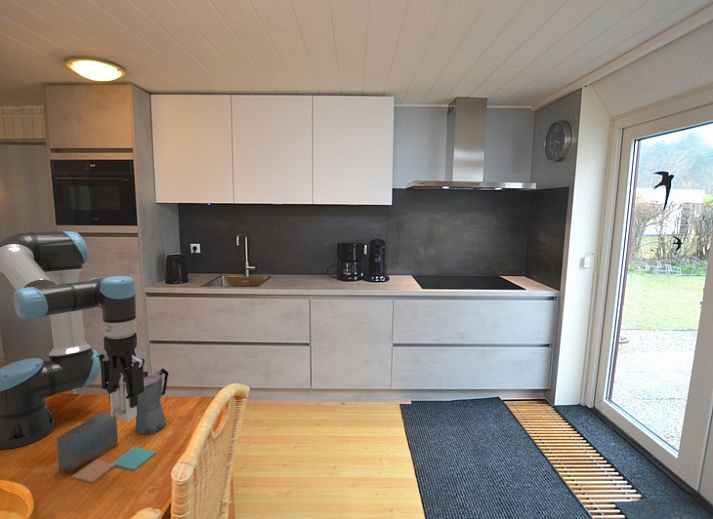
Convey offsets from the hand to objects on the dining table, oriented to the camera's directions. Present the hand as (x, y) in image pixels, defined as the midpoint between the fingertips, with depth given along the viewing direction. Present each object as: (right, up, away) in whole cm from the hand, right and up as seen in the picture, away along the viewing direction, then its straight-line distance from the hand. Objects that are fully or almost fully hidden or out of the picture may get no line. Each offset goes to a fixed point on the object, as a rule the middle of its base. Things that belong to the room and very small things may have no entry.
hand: (124, 415), depth 102 cm
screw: (0, -1, 0) cm, 1 cm away
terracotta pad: (-9, -16, +1) cm, 18 cm away
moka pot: (-5, -14, +23) cm, 27 cm away
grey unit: (-14, -15, +7) cm, 22 cm away
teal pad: (-1, -16, +6) cm, 17 cm away
